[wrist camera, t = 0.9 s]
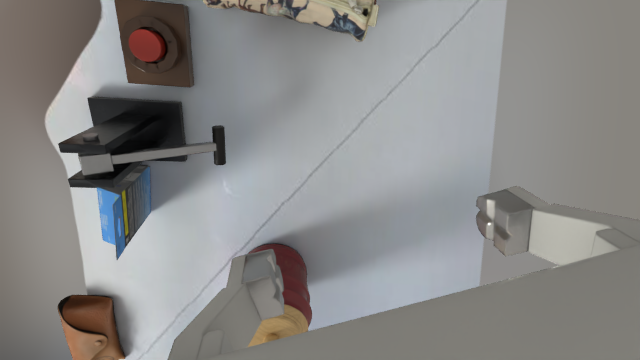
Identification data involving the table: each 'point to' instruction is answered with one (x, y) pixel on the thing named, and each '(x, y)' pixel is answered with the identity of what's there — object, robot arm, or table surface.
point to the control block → (175, 34)
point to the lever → (153, 154)
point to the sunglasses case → (90, 327)
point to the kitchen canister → (287, 298)
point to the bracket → (125, 135)
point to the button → (147, 45)
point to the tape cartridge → (125, 207)
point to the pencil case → (314, 12)
